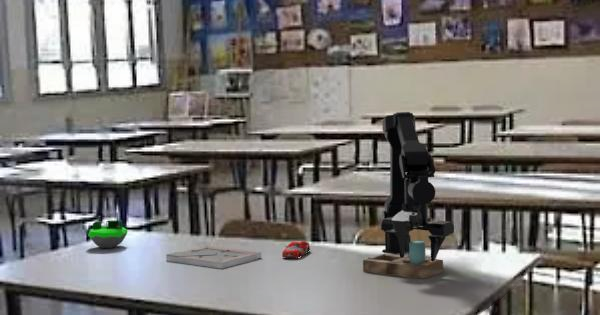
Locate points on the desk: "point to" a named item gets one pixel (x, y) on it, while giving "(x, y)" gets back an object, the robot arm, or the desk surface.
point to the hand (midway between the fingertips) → (417, 259)
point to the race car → (296, 249)
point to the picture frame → (213, 256)
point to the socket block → (401, 266)
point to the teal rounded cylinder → (417, 252)
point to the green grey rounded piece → (108, 233)
